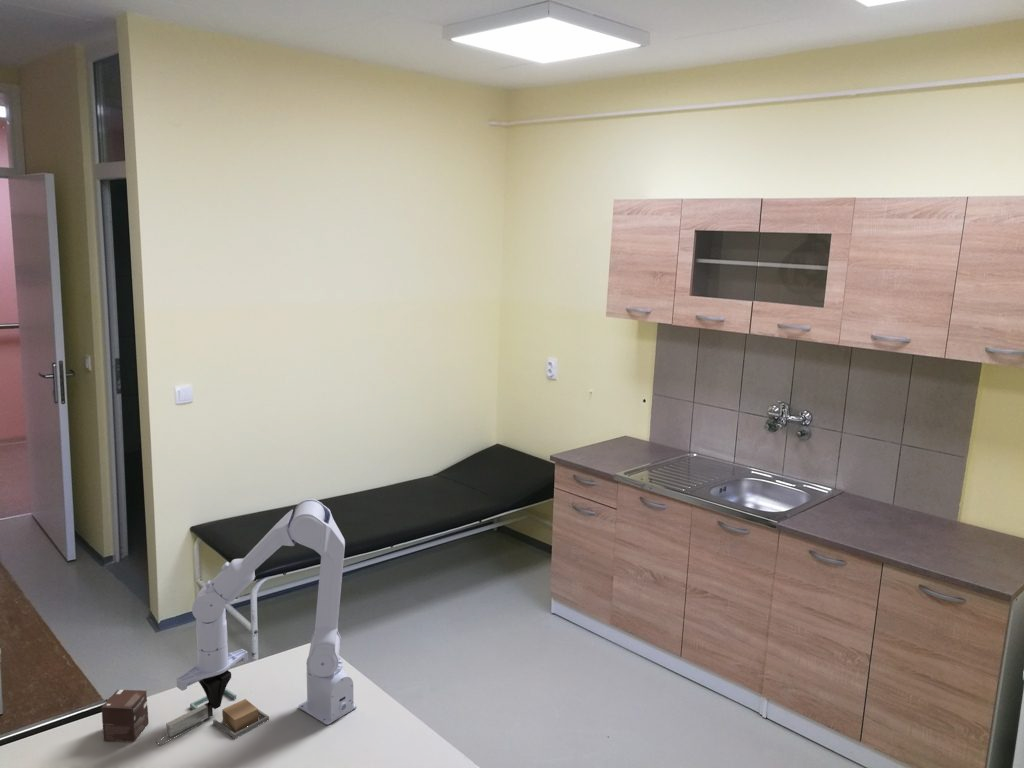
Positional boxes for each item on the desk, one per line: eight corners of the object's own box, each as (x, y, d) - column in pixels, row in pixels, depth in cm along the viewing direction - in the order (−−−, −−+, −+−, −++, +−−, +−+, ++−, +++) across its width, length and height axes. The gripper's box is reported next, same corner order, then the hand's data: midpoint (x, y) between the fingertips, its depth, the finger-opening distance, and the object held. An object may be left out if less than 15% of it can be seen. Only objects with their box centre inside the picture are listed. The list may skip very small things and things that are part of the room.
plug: (258, 722, 152) (258, 709, 152) (235, 733, 149) (234, 720, 148) (245, 712, 156) (245, 698, 155) (222, 722, 152) (222, 709, 152)
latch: (212, 715, 153) (212, 704, 153) (170, 737, 146) (169, 725, 146) (209, 713, 154) (208, 702, 153) (166, 734, 147) (166, 723, 146)
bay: (236, 698, 160) (236, 695, 160) (202, 715, 154) (202, 712, 153) (224, 690, 162) (224, 687, 162) (190, 707, 156) (190, 703, 156)
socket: (269, 719, 153) (268, 716, 153) (185, 766, 139) (185, 762, 139) (238, 699, 159) (238, 696, 159) (155, 742, 145) (155, 738, 145)
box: (133, 743, 145) (131, 708, 144) (102, 741, 145) (100, 707, 144) (149, 723, 151) (147, 690, 150) (119, 722, 151) (117, 688, 150)
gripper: (233, 624, 160) (235, 683, 162) (167, 652, 148) (170, 714, 151) (253, 635, 155) (254, 695, 158) (186, 665, 144) (189, 729, 146)
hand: (215, 705), depth 154 cm, fingers closed
